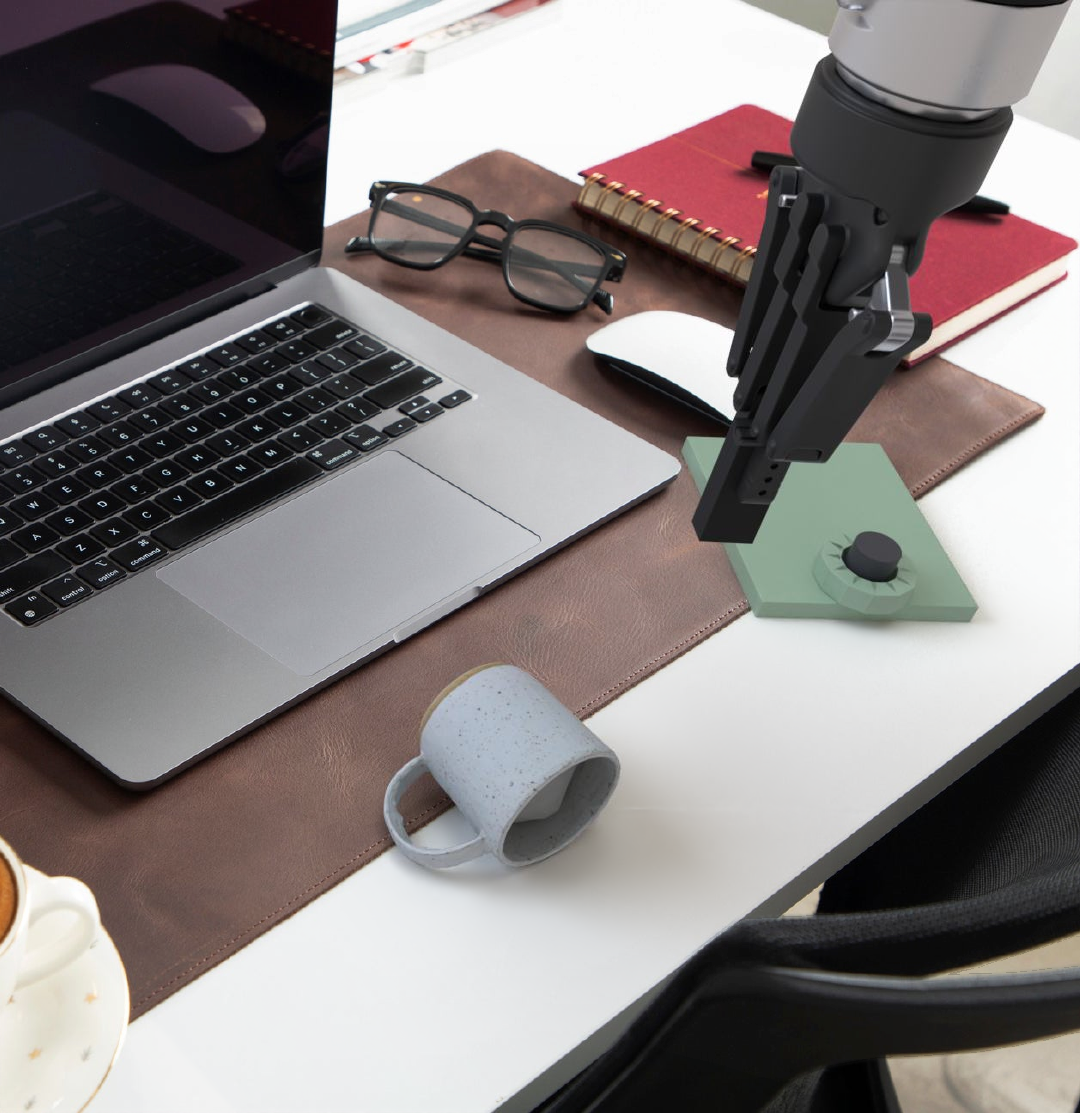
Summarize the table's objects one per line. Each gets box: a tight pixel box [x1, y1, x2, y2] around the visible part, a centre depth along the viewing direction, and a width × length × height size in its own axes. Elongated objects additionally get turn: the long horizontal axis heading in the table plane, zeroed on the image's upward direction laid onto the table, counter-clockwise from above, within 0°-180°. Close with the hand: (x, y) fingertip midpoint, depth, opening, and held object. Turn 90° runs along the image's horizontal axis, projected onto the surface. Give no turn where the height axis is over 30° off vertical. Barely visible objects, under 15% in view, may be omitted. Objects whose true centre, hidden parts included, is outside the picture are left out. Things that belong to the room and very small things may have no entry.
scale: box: [681, 436, 979, 623], centre depth 94 cm, size 17×14×3 cm
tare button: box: [845, 531, 902, 582], centre depth 89 cm, size 3×3×2 cm
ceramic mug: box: [383, 661, 622, 869], centre depth 73 cm, size 11×8×8 cm
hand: (721, 532), depth 72 cm, fingers closed
